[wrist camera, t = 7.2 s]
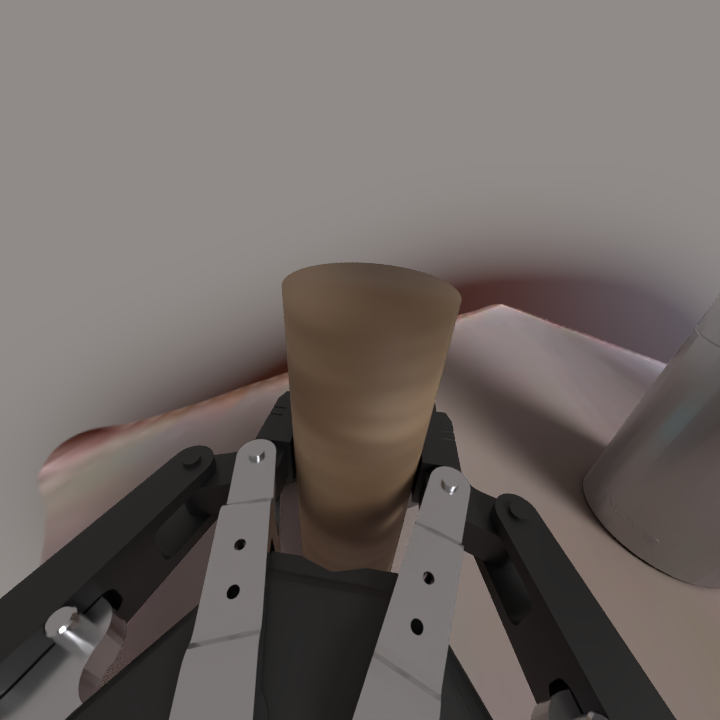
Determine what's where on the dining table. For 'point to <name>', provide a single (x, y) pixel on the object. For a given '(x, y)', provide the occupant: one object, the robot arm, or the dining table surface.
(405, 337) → the walnut peg
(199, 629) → the robot arm
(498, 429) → the dining table surface
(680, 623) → the dining table surface
